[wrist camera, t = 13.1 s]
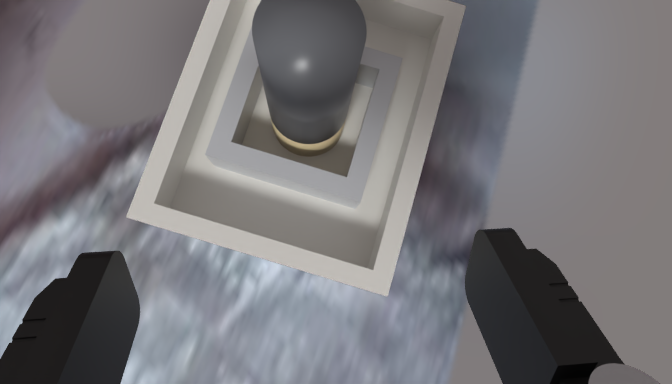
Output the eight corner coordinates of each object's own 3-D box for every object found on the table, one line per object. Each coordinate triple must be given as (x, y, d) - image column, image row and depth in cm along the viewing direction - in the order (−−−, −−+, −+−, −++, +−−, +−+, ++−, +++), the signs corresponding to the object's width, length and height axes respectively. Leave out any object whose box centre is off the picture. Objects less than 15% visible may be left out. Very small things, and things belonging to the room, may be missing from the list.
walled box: (150, 224, 26) (126, 217, 22) (244, -25, 28) (235, -66, 25) (376, 293, 26) (387, 296, 22) (446, 38, 29) (466, 5, 25)
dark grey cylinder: (258, 132, 26) (229, 45, 16) (296, 75, 26) (291, -42, 17) (320, 170, 26) (328, 104, 16) (357, 111, 26) (387, 14, 16)
